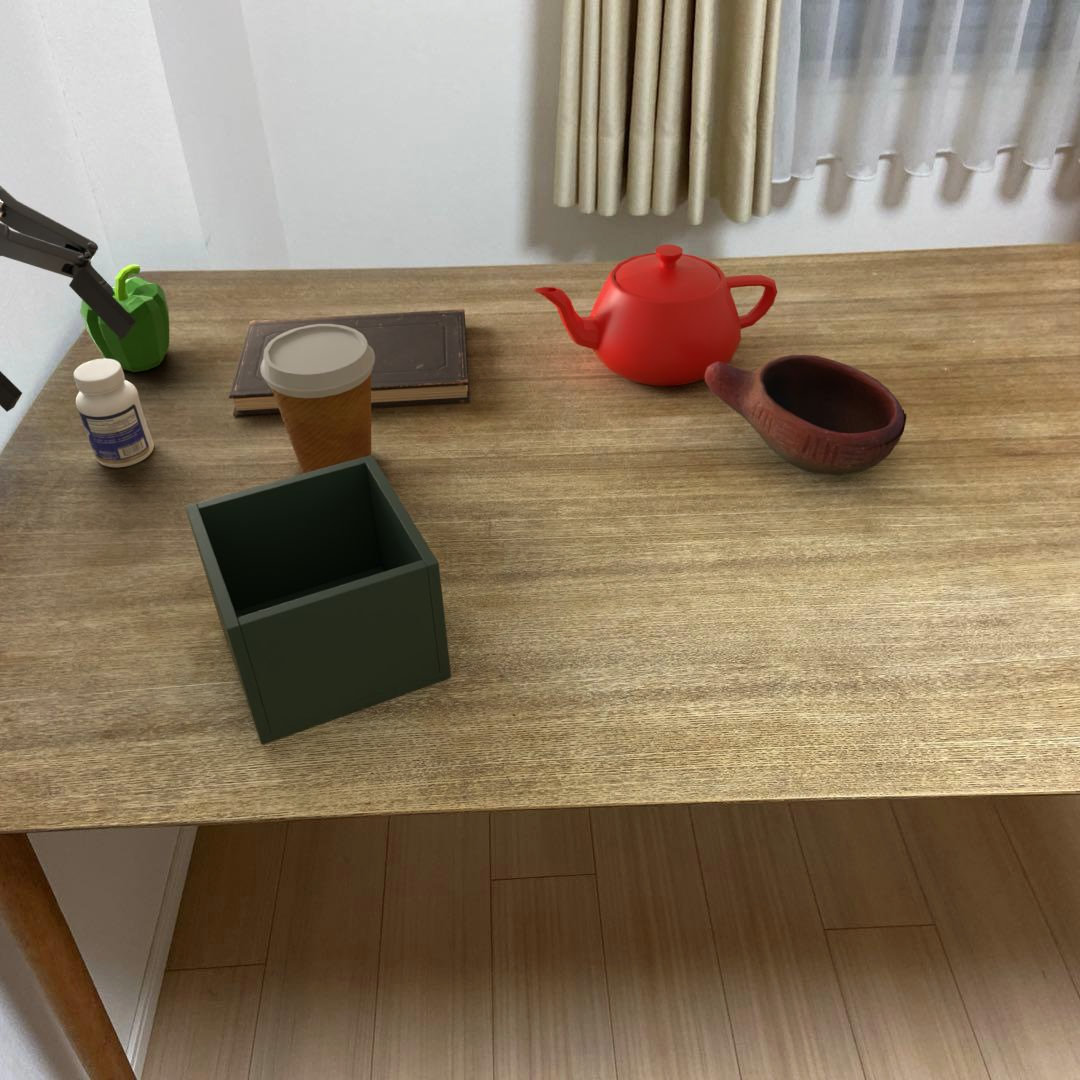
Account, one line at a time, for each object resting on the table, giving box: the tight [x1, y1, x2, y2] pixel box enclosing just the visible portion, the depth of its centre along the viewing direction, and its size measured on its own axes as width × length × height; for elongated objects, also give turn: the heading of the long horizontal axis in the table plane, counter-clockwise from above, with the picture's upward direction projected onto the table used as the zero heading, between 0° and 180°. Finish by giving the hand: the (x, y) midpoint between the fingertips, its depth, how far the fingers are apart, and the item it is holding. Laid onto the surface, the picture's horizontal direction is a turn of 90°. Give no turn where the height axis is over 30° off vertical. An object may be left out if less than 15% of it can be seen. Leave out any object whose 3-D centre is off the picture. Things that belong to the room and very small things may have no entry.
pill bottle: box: [73, 358, 155, 468], centre depth 92 cm, size 5×5×9 cm
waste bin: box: [184, 454, 452, 745], centre depth 71 cm, size 14×14×11 cm
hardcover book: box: [228, 308, 471, 417], centre depth 105 cm, size 16×23×2 cm
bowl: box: [704, 354, 907, 476], centre depth 89 cm, size 16×13×8 cm
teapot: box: [533, 243, 778, 387], centre depth 102 cm, size 25×16×12 cm, turn 101°
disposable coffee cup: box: [261, 324, 375, 474], centre depth 89 cm, size 10×10×12 cm
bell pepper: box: [79, 264, 170, 373], centre depth 105 cm, size 8×8×10 cm
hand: (75, 365), depth 90 cm, fingers open, 13 cm apart
